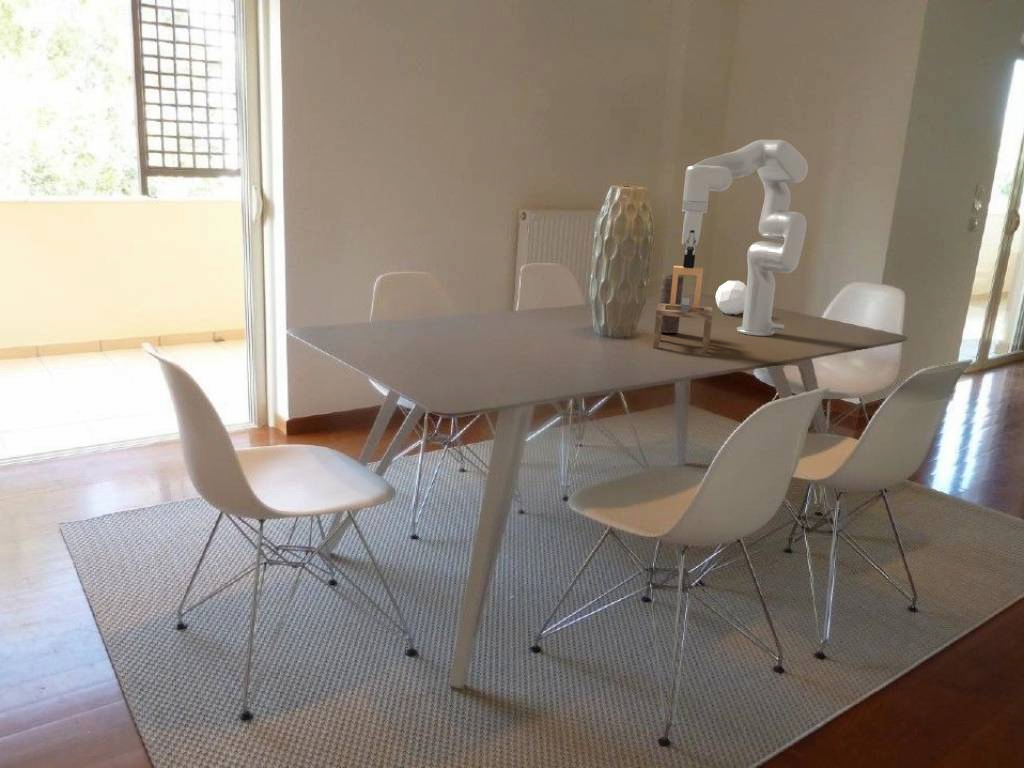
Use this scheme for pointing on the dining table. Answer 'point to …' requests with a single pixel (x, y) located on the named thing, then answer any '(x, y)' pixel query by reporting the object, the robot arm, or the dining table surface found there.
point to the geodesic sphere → (731, 297)
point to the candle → (669, 322)
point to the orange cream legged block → (686, 271)
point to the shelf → (675, 311)
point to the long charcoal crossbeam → (685, 305)
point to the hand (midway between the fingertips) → (688, 266)
